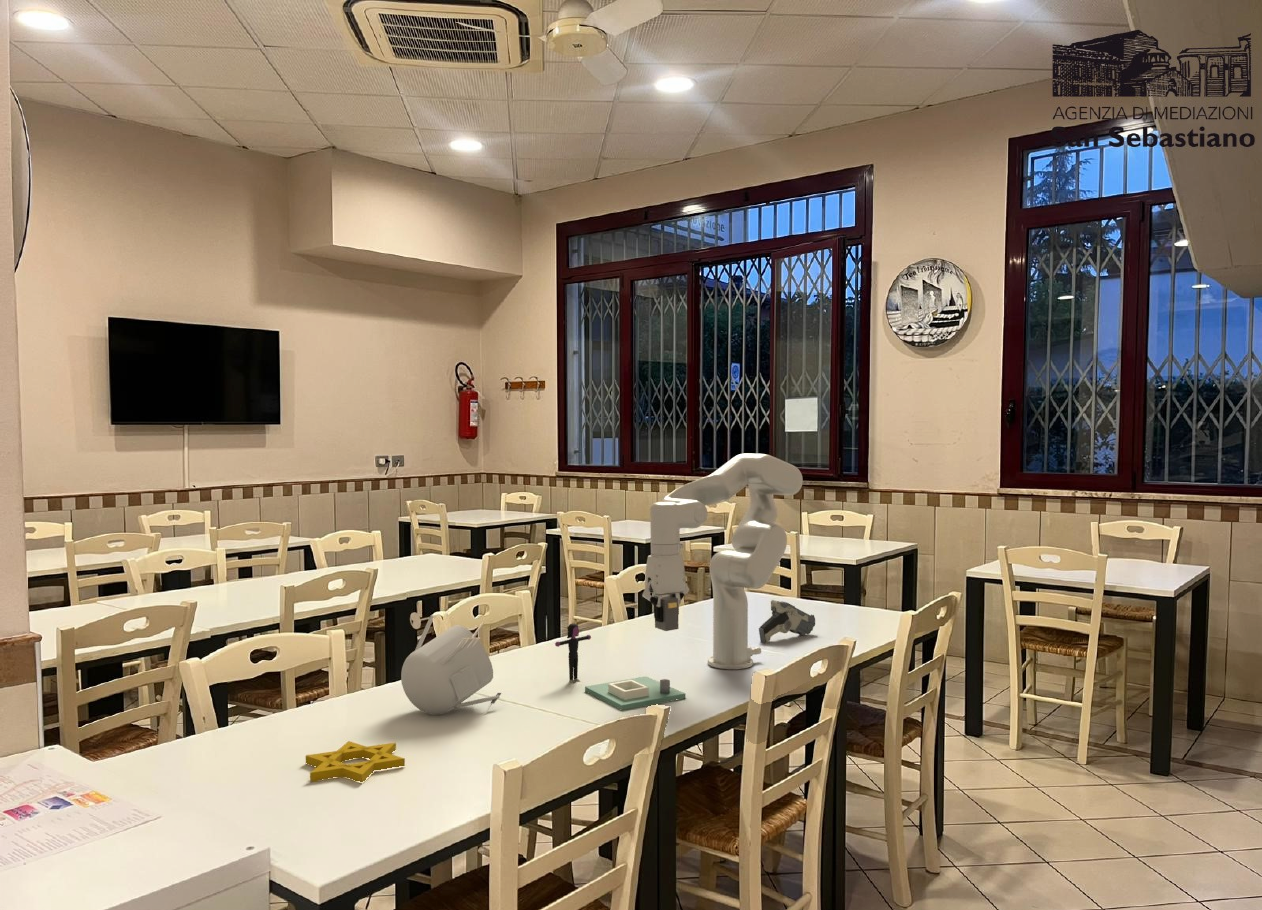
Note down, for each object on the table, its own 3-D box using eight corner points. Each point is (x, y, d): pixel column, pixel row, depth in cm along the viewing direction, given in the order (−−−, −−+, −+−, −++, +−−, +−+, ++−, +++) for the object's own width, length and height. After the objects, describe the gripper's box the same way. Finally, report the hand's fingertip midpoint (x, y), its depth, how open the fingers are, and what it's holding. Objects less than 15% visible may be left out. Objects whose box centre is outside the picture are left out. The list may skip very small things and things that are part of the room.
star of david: (419, 753, 183) (419, 742, 183) (388, 787, 166) (388, 774, 166) (325, 751, 185) (324, 740, 185) (284, 783, 168) (284, 771, 168)
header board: (646, 680, 235) (646, 664, 235) (685, 698, 220) (685, 681, 220) (585, 691, 226) (584, 674, 226) (621, 710, 210) (621, 692, 210)
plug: (667, 625, 238) (667, 595, 238) (679, 629, 233) (679, 598, 233) (654, 627, 236) (654, 596, 235) (666, 631, 231) (666, 600, 231)
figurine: (560, 686, 230) (560, 628, 229) (551, 683, 232) (550, 625, 232) (595, 677, 238) (595, 620, 238) (585, 674, 241) (585, 618, 241)
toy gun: (804, 662, 285) (819, 617, 289) (760, 641, 275) (777, 594, 278) (796, 659, 288) (811, 615, 292) (752, 638, 278) (769, 593, 281)
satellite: (366, 639, 209) (424, 668, 191) (437, 596, 221) (497, 620, 203) (398, 719, 216) (456, 754, 198) (464, 673, 228) (524, 702, 210)
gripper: (683, 545, 241) (684, 613, 242) (630, 551, 233) (631, 621, 233) (700, 548, 235) (701, 618, 236) (645, 554, 226) (647, 627, 227)
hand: (666, 619), depth 235 cm, fingers closed on plug, 4 cm apart
